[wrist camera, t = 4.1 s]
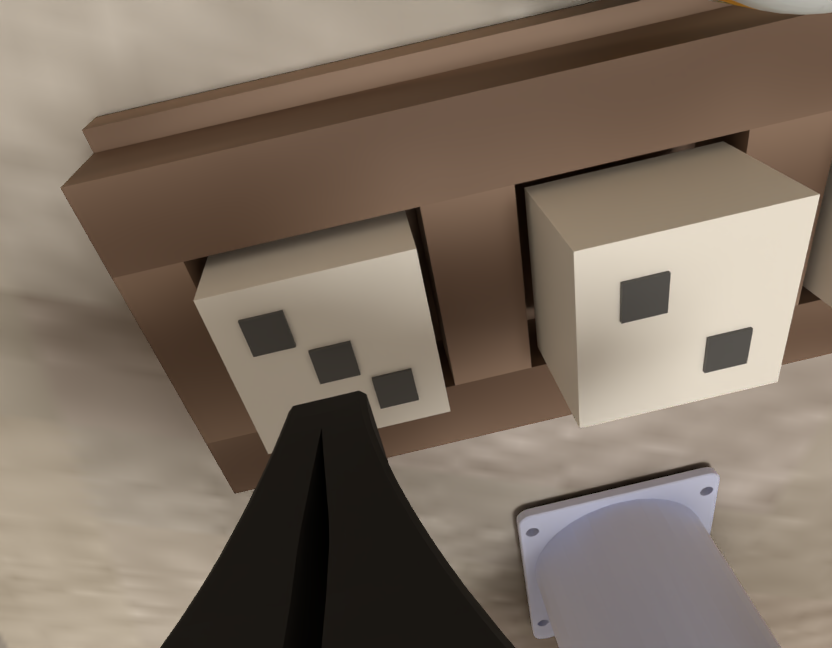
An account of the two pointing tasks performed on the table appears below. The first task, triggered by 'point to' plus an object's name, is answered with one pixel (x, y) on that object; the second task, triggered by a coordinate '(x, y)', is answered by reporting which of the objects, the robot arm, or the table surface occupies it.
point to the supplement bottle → (785, 6)
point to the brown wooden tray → (444, 181)
